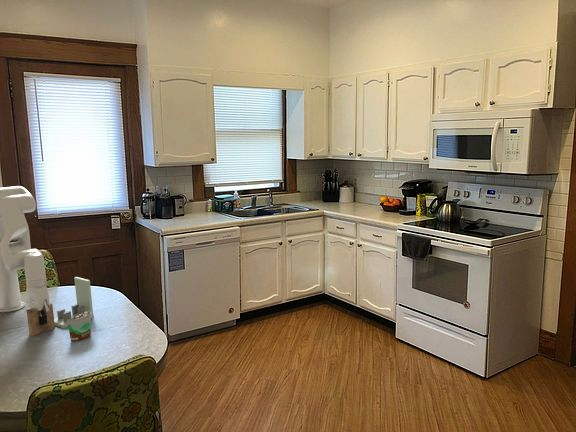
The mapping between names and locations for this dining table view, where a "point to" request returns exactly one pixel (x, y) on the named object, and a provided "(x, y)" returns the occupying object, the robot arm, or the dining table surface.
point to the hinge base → (82, 303)
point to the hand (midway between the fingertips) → (41, 323)
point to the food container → (80, 326)
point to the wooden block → (34, 321)
